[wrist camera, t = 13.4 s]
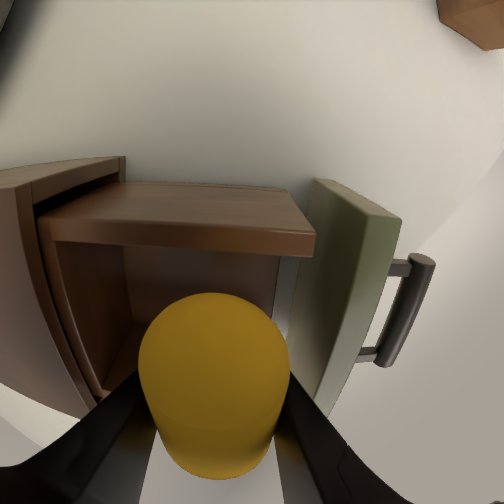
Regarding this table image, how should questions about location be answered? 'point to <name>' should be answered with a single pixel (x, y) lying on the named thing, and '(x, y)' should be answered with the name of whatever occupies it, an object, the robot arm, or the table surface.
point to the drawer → (229, 271)
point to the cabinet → (41, 282)
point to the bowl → (4, 11)
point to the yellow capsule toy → (214, 382)
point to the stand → (475, 20)
